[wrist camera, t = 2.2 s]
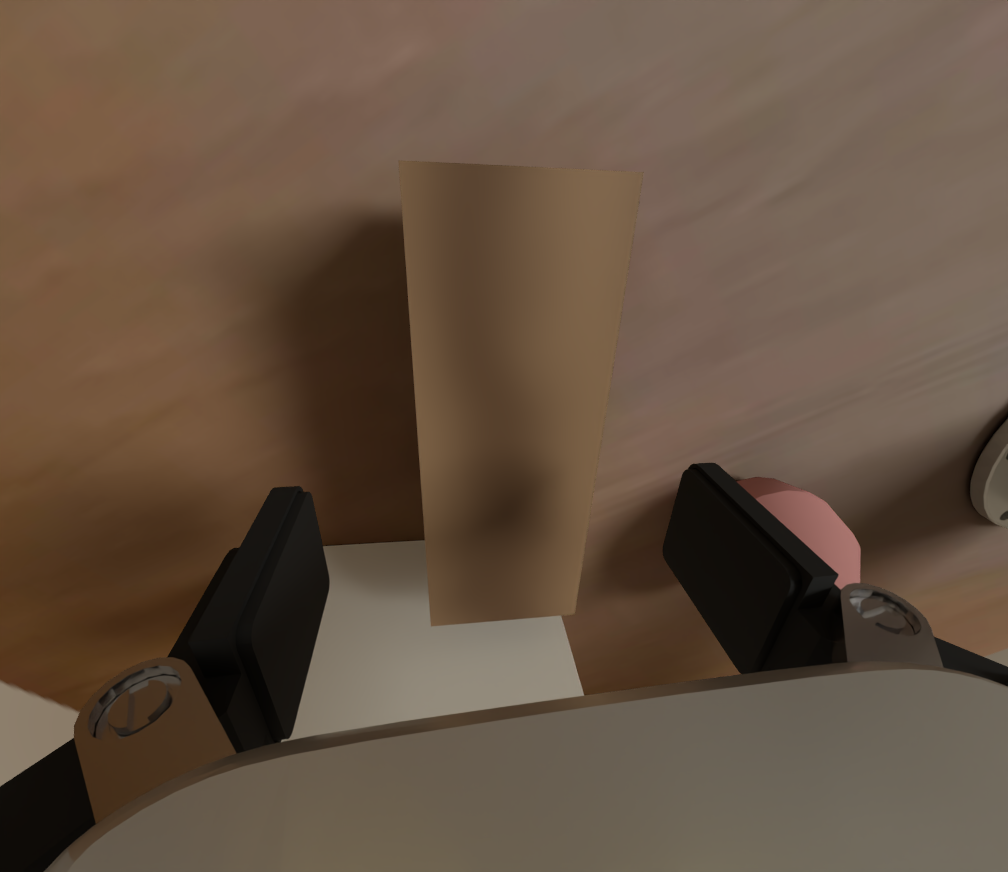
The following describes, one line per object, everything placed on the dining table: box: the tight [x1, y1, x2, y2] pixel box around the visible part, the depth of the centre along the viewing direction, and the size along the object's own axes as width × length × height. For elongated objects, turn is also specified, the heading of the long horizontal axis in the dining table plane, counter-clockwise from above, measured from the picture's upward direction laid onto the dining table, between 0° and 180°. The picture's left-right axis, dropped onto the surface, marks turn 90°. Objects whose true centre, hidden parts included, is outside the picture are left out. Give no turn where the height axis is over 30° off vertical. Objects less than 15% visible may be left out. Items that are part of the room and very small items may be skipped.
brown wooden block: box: [399, 161, 644, 626], centre depth 16 cm, size 6×16×5 cm, turn 178°
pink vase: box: [736, 477, 861, 589], centre depth 22 cm, size 8×8×12 cm
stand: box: [281, 540, 584, 742], centre depth 25 cm, size 14×22×11 cm, turn 178°
